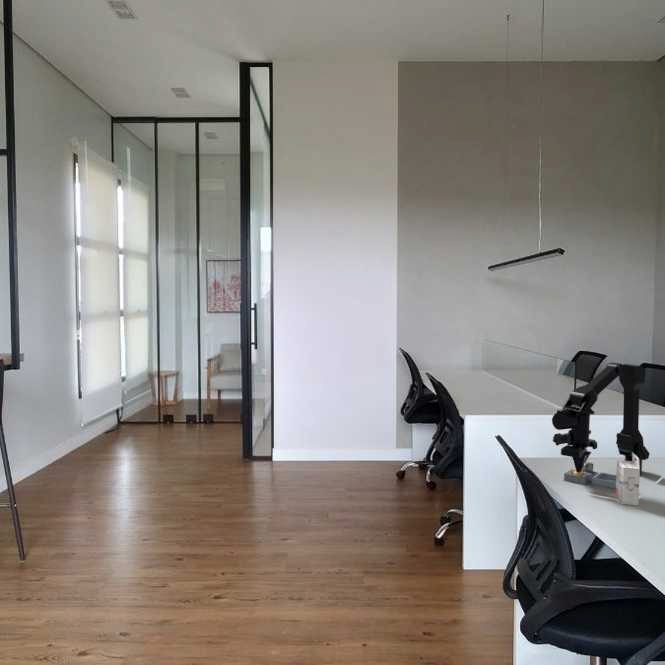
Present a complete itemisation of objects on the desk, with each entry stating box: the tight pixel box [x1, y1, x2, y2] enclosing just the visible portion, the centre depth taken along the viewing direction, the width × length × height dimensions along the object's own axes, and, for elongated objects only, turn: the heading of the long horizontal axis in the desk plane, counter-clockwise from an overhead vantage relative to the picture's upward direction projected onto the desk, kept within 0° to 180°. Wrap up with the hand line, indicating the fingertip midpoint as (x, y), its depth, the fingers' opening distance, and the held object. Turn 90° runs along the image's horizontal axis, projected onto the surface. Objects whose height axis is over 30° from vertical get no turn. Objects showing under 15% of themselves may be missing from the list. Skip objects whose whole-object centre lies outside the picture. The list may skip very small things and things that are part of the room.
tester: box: [563, 469, 599, 486], centre depth 213 cm, size 16×8×3 cm, turn 139°
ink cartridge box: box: [615, 452, 641, 506], centre depth 191 cm, size 9×5×15 cm, turn 168°
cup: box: [591, 471, 617, 490], centre depth 207 cm, size 9×9×2 cm
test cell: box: [582, 461, 594, 474], centre depth 216 cm, size 4×4×4 cm
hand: (578, 472), depth 209 cm, fingers closed, pressing on tester button
